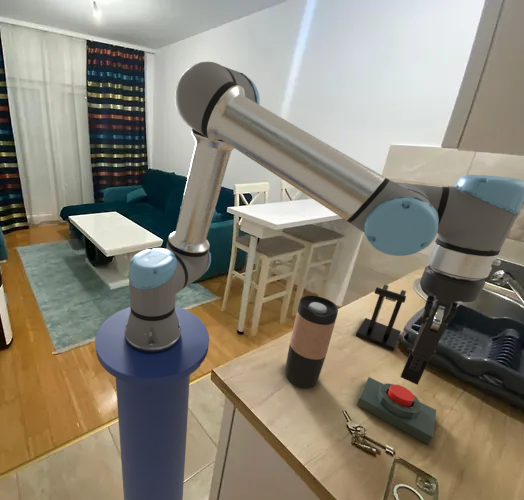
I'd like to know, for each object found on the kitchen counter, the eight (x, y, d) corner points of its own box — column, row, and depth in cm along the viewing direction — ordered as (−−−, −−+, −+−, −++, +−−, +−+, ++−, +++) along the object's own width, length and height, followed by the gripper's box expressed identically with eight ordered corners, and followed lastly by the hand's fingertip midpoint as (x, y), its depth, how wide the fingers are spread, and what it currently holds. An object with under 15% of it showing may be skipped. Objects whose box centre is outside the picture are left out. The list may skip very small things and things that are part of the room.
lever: (403, 304, 68) (406, 294, 68) (373, 294, 72) (377, 285, 71) (403, 304, 78) (406, 296, 78) (377, 296, 82) (380, 288, 82)
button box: (356, 405, 62) (361, 391, 60) (365, 383, 67) (370, 370, 65) (428, 445, 54) (436, 430, 52) (432, 417, 59) (439, 403, 58)
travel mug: (299, 360, 73) (316, 292, 66) (325, 382, 67) (347, 310, 59) (276, 369, 70) (291, 299, 63) (301, 394, 64) (321, 318, 56)
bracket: (393, 351, 77) (411, 304, 72) (355, 335, 83) (370, 290, 78) (399, 334, 84) (416, 290, 78) (364, 320, 90) (378, 278, 84)
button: (385, 398, 59) (388, 392, 58) (389, 387, 62) (392, 381, 61) (410, 411, 56) (413, 404, 56) (412, 398, 59) (415, 392, 58)
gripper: (488, 293, 41) (430, 411, 50) (485, 266, 50) (437, 371, 59) (422, 276, 46) (379, 386, 55) (430, 254, 55) (392, 353, 64)
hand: (409, 378), depth 57 cm, fingers closed
